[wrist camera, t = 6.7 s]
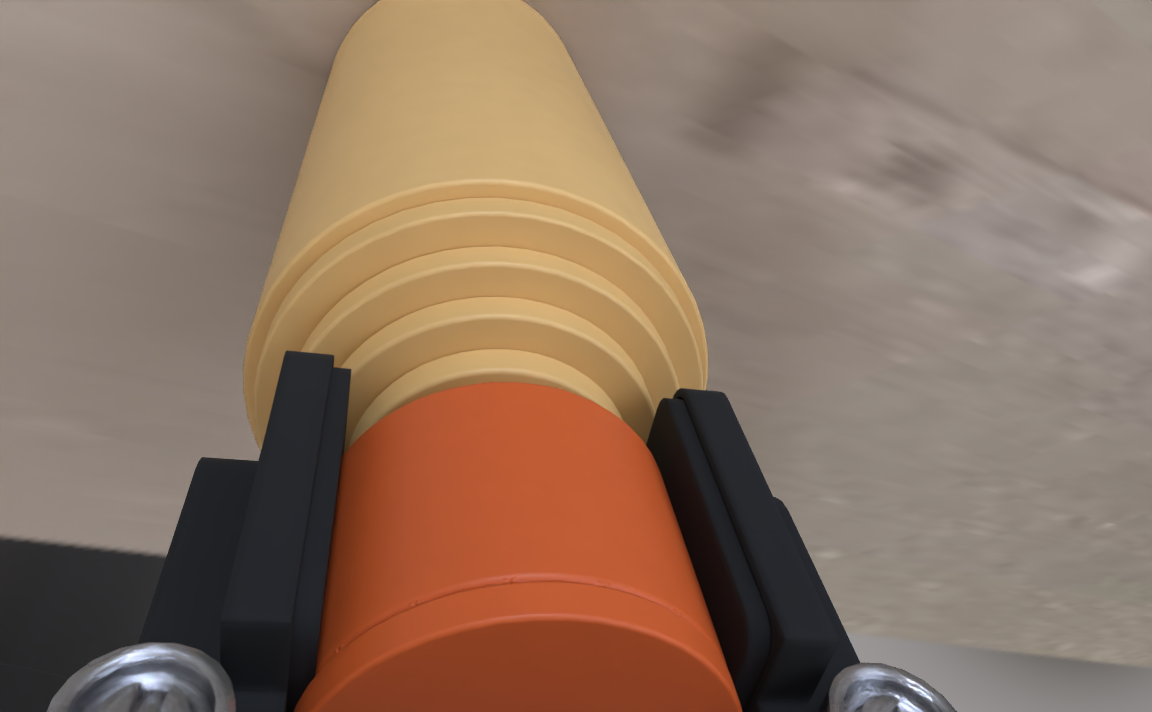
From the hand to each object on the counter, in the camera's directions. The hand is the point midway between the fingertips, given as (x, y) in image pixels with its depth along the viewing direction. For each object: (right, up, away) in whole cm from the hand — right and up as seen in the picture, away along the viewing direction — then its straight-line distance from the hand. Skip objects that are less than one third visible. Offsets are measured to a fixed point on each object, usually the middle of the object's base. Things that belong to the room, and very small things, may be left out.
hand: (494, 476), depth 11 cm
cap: (0, 0, -1) cm, 1 cm away
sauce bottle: (-2, +8, +12) cm, 15 cm away
